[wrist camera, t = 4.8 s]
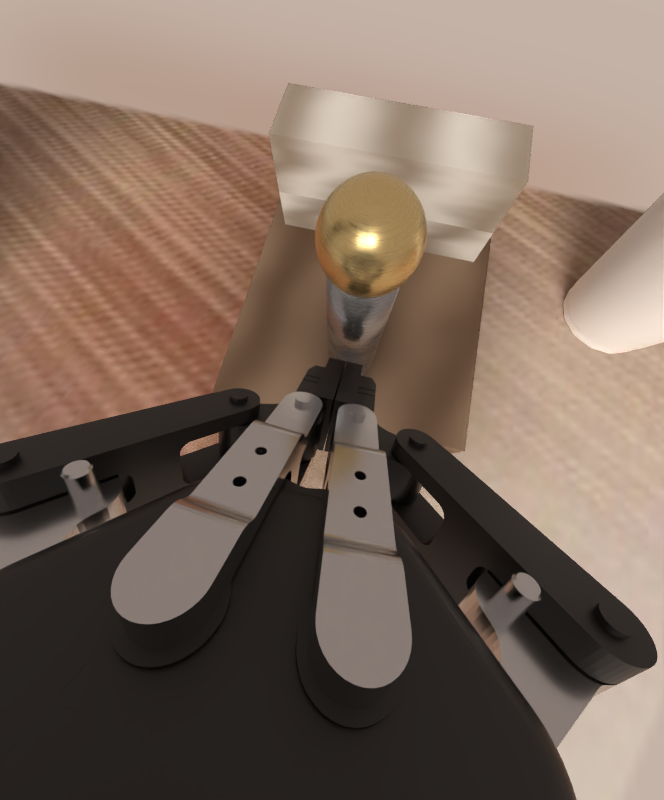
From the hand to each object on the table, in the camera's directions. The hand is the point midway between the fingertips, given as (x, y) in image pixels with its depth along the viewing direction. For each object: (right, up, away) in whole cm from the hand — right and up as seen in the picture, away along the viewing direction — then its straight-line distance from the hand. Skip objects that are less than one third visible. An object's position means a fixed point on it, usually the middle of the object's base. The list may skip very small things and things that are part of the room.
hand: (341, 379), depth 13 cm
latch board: (+2, +6, +9) cm, 11 cm away
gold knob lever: (+1, +4, +6) cm, 7 cm away
